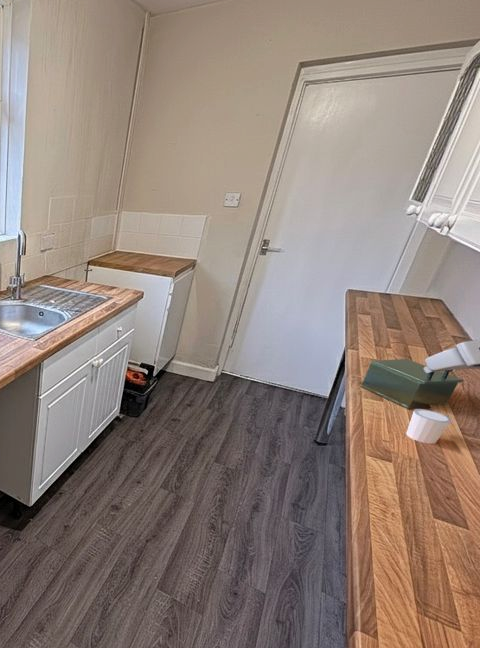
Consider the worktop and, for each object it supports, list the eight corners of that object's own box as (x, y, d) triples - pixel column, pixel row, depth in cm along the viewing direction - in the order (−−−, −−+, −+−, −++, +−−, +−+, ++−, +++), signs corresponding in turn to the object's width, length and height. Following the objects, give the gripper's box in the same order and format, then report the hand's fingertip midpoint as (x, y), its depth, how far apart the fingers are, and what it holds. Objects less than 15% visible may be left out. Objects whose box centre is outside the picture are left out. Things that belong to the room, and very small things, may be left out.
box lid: (462, 382, 120) (470, 367, 118) (423, 384, 119) (431, 369, 117) (405, 361, 134) (412, 347, 132) (370, 362, 133) (376, 349, 131)
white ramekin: (443, 440, 108) (455, 417, 106) (434, 448, 105) (446, 425, 103) (408, 427, 114) (418, 406, 111) (398, 435, 111) (409, 412, 108)
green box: (445, 407, 124) (458, 381, 121) (407, 409, 123) (420, 383, 120) (394, 385, 138) (405, 361, 134) (360, 387, 136) (370, 362, 133)
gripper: (524, 339, 110) (463, 358, 123) (457, 342, 108) (401, 361, 121) (538, 361, 108) (474, 378, 120) (469, 364, 106) (411, 381, 118)
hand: (437, 369), depth 121 cm, fingers closed on box lid, 6 cm apart
